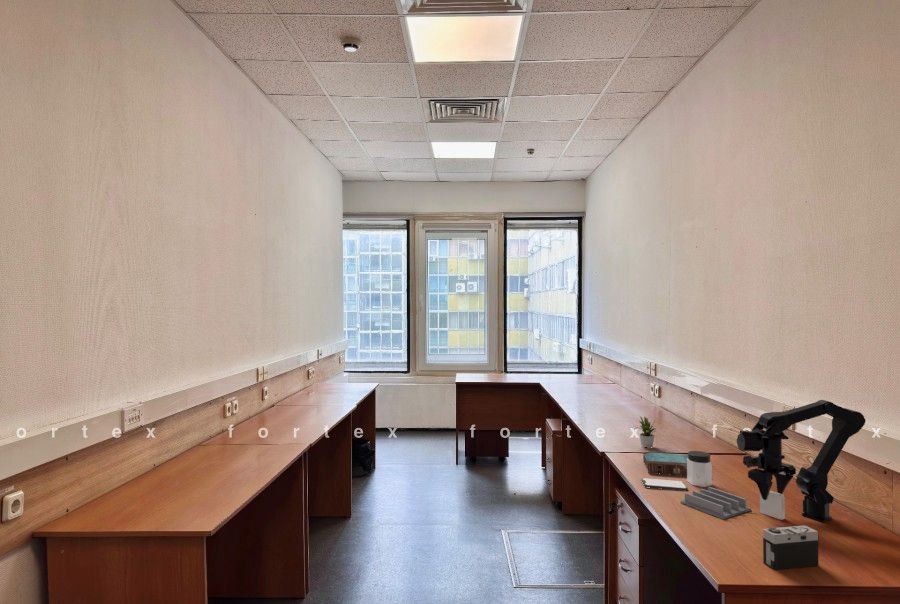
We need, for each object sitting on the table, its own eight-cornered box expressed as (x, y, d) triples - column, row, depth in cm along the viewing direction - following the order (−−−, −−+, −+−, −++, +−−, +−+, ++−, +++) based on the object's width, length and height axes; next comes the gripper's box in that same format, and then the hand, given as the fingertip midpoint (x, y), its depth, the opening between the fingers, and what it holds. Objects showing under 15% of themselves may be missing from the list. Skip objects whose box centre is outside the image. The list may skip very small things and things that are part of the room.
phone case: (682, 485, 203) (640, 481, 206) (682, 481, 203) (640, 477, 206) (688, 492, 194) (644, 489, 197) (688, 488, 194) (645, 485, 197)
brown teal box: (648, 474, 214) (648, 463, 214) (641, 462, 232) (641, 451, 232) (706, 478, 209) (706, 466, 209) (695, 466, 227) (695, 454, 227)
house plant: (624, 443, 261) (624, 412, 262) (646, 441, 266) (646, 410, 266) (642, 451, 248) (642, 418, 248) (665, 449, 252) (665, 416, 252)
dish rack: (750, 510, 175) (750, 499, 176) (722, 519, 168) (722, 508, 168) (708, 495, 190) (708, 485, 190) (680, 503, 182) (680, 492, 182)
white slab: (784, 518, 169) (784, 494, 169) (781, 520, 168) (781, 496, 168) (763, 511, 175) (763, 488, 175) (759, 512, 174) (759, 489, 174)
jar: (686, 484, 201) (686, 454, 201) (687, 478, 208) (687, 449, 208) (711, 488, 197) (711, 457, 197) (712, 482, 204) (712, 452, 204)
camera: (794, 552, 145) (794, 517, 146) (820, 566, 137) (819, 530, 137) (751, 556, 143) (751, 521, 143) (774, 571, 135) (774, 533, 135)
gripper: (763, 442, 183) (763, 485, 183) (732, 449, 174) (732, 494, 174) (796, 449, 173) (797, 495, 173) (765, 457, 164) (766, 505, 164)
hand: (772, 497), depth 171 cm, fingers open, 9 cm apart
